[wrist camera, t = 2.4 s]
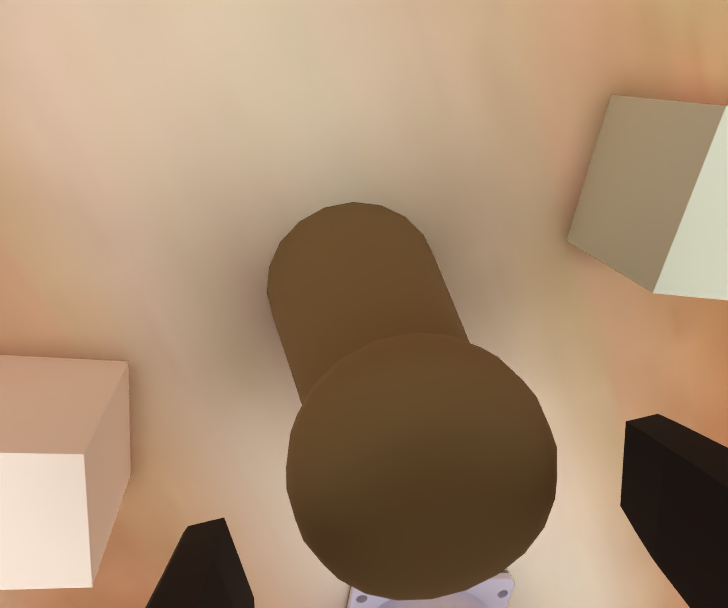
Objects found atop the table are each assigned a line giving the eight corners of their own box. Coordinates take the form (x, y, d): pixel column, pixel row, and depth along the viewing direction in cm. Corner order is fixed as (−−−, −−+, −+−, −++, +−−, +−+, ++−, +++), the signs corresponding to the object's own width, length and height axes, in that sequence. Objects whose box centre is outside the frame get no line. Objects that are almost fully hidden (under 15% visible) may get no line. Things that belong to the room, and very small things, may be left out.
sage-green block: (682, 253, 21) (797, 306, 16) (565, 240, 20) (652, 292, 15) (736, 117, 19) (885, 134, 14) (609, 94, 18) (726, 105, 13)
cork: (238, 239, 18) (195, 469, 8) (411, 176, 18) (592, 322, 8) (303, 383, 20) (335, 693, 10) (454, 328, 20) (630, 583, 10)
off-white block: (131, 473, 21) (92, 587, 16) (-14, 471, 20) (-99, 592, 15) (129, 360, 19) (84, 454, 14) (-32, 351, 18) (-135, 450, 13)
